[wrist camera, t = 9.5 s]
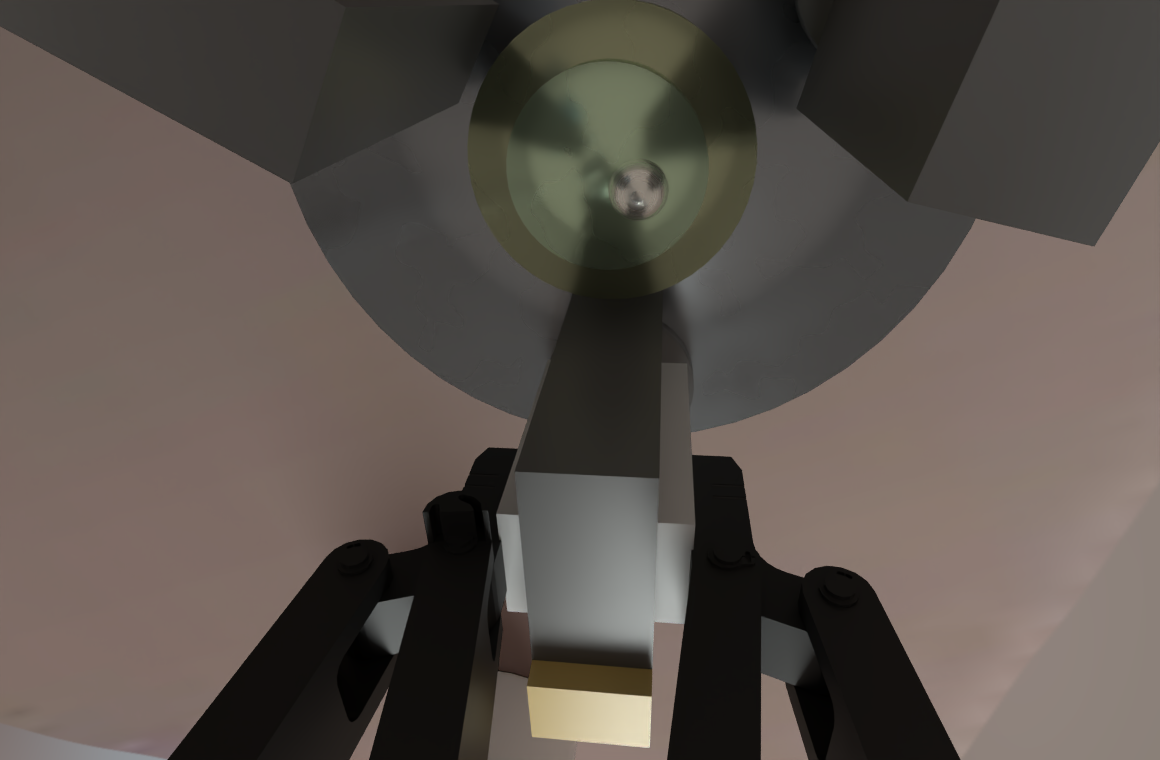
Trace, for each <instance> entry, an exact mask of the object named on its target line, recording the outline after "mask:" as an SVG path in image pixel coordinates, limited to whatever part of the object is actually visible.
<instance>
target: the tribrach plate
mask: <svg viewBox="0 0 1160 760" xmlns="http://www.w3.org/2000/svg"><path fill="white" fill-rule="evenodd" d="M493 1H494V2H496V3H498V4H499V6H498V9H497V11H496V13H495V16H494V18H493V21H492V23H491V26H490V28H489V30H488V33H487V35H486V38H485V40H484V43H483V45H482V47H481V50H480V52H479V55H478V57H477V60H476V62H475V64H474V67H473V69H472V72H471V74H470V77H469V79H468V82H467V84H466V86H465V89H464V91H463V94H462V96H461V99H460V101H459V103H458V104H456V105H454V106H452V107H450V108H448V109H446V110H443V111H441V112H439V113H437V114H435V115H433V116H431V117H429V118H427V119H425V120H423V121H421V122H419V123H417V124H415V125H413V126H411V127H408V128H406V129H404V130H402V131H400V132H398V133H396V134H394V135H392V136H390V137H388V138H386V139H384V140H382V141H380V142H378V143H376V144H373V145H371V146H369V147H367V148H365V149H363V150H361V151H359V152H357V153H355V154H353V155H351V156H349V157H347V158H345V159H343V160H341V161H338V162H336V163H334V164H332V165H330V166H328V167H326V168H324V169H322V170H320V171H318V172H316V173H314V174H312V175H310V176H308V177H306V178H303V179H301V180H299V181H297V182H295V183H293V184H291V183H290V184H291V187H292V189H293V192H294V194H295V196H296V199H297V201H298V203H299V206H300V208H301V211H302V213H303V215H304V218H305V220H306V222H307V225H308V226H309V228H310V230H311V232H312V234H313V235H314V237H315V239H316V241H317V243H318V244H319V246H320V248H321V250H322V252H323V253H324V255H325V257H326V259H327V261H328V262H329V264H330V265H331V267H332V268H333V269H334V271H335V272H336V274H337V275H338V277H339V278H340V279H341V281H342V282H343V284H344V285H345V286H346V288H347V289H348V291H349V292H350V294H351V295H352V296H353V298H354V299H355V300H356V301H357V302H358V303H359V305H360V306H361V307H362V308H363V309H364V310H365V311H366V312H367V314H368V315H369V316H370V317H371V318H372V319H373V320H374V322H375V323H376V324H377V325H378V326H379V327H380V328H381V329H382V330H383V331H384V332H385V333H386V334H387V335H388V336H389V337H390V338H392V339H393V340H394V341H395V342H396V343H397V344H398V345H399V346H400V347H401V348H402V349H404V350H405V351H406V352H407V353H408V354H409V355H410V356H411V357H413V358H414V359H415V360H417V361H418V362H420V363H421V364H422V365H424V366H425V367H426V368H428V369H429V370H430V371H432V372H433V373H435V374H436V375H437V376H439V377H440V378H441V379H443V380H445V381H446V382H448V383H450V384H451V385H453V386H455V387H457V388H458V389H460V390H462V391H463V392H465V393H467V394H469V395H470V396H472V397H474V398H476V399H478V400H480V401H482V402H485V403H487V404H489V405H491V406H494V407H496V408H498V409H500V410H502V411H505V412H507V413H509V414H512V415H515V416H518V417H521V418H524V419H528V417H529V414H530V411H531V409H532V406H533V403H534V400H535V397H536V394H537V391H538V388H539V385H540V382H541V379H542V376H543V373H544V370H545V367H546V364H547V361H548V360H550V358H551V355H552V352H553V349H554V347H555V345H556V343H557V340H558V337H559V334H560V331H561V328H562V325H563V322H564V319H565V316H566V313H567V309H568V306H569V303H570V300H571V297H572V294H576V295H580V296H585V297H590V298H599V299H628V298H634V297H640V296H645V295H648V294H652V293H655V292H658V291H661V290H663V314H662V322H663V323H665V324H667V325H668V326H669V327H670V328H671V329H672V330H674V331H675V333H676V334H677V335H678V336H679V337H680V338H681V340H682V341H683V343H684V344H685V346H686V348H687V350H688V352H689V355H690V358H691V361H692V367H693V379H694V393H693V400H692V403H691V406H690V429H691V432H696V431H700V430H705V429H709V428H713V427H717V426H722V425H726V424H730V423H734V422H737V421H740V420H743V419H746V418H749V417H751V416H754V415H757V414H760V413H763V412H766V411H768V410H771V409H774V408H776V407H778V406H780V405H782V404H784V403H786V402H788V401H790V400H792V399H794V398H797V397H799V396H801V395H803V394H805V393H807V392H809V391H811V390H812V389H814V388H816V387H817V386H819V385H820V384H822V383H824V382H825V381H827V380H828V379H830V378H832V377H833V376H835V375H836V374H838V373H840V372H841V371H843V370H844V369H846V368H847V367H849V366H850V365H851V364H852V363H854V362H855V361H856V360H857V359H859V358H860V357H861V356H862V355H864V354H865V353H866V352H867V351H869V350H870V349H871V348H873V347H874V346H875V345H876V344H878V343H879V342H880V341H881V340H882V339H883V338H884V337H885V336H886V335H887V334H888V333H889V332H890V331H891V330H892V329H893V328H894V327H895V326H896V325H897V324H898V323H899V322H900V321H901V320H902V319H904V318H905V317H906V316H907V315H908V314H909V313H910V312H911V311H912V310H913V309H914V307H915V306H916V305H917V304H918V303H919V301H920V300H921V299H922V298H923V296H924V295H925V294H926V293H927V291H928V290H929V289H930V288H931V286H932V285H933V284H934V283H935V281H936V280H937V279H938V278H939V276H940V275H941V274H942V273H943V271H944V270H945V268H946V267H947V265H948V264H949V262H950V261H951V259H952V257H953V256H954V254H955V253H956V251H957V249H958V248H959V246H960V245H961V243H962V241H963V240H964V238H965V237H966V235H967V234H968V232H969V230H970V229H971V227H972V225H973V223H974V221H975V219H976V218H973V217H968V216H964V215H960V214H956V213H952V212H947V211H943V210H939V209H935V208H931V207H926V206H922V205H918V204H914V203H910V202H907V201H906V200H904V199H903V198H902V197H901V196H900V195H899V194H897V193H896V192H895V191H894V190H893V189H891V188H890V187H889V186H888V185H887V184H885V183H884V182H883V181H882V180H881V179H879V178H878V177H877V176H876V175H875V174H874V173H872V172H871V171H870V170H869V169H868V168H866V167H865V166H864V165H863V164H862V163H860V162H859V161H858V160H857V159H856V158H854V157H853V156H852V155H851V154H850V153H849V152H847V151H846V150H845V149H844V148H843V147H841V146H840V145H839V144H838V143H837V142H835V141H834V140H833V139H832V138H831V137H829V136H828V135H827V134H826V133H825V132H823V131H822V130H821V129H820V128H819V127H818V126H816V125H815V124H814V123H813V122H812V121H810V120H809V119H808V118H807V117H806V116H804V115H803V114H802V113H801V112H800V111H798V110H797V109H796V108H797V105H798V102H799V99H800V96H801V94H802V91H803V88H804V85H805V82H806V79H807V76H808V73H809V71H810V68H811V65H812V62H813V59H814V56H815V53H816V50H817V49H816V48H815V47H814V45H813V44H812V43H811V41H810V40H809V39H808V37H807V35H806V34H805V32H804V30H803V28H802V26H801V24H800V21H799V18H798V15H797V12H796V8H795V3H794V0H493Z"/></svg>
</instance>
